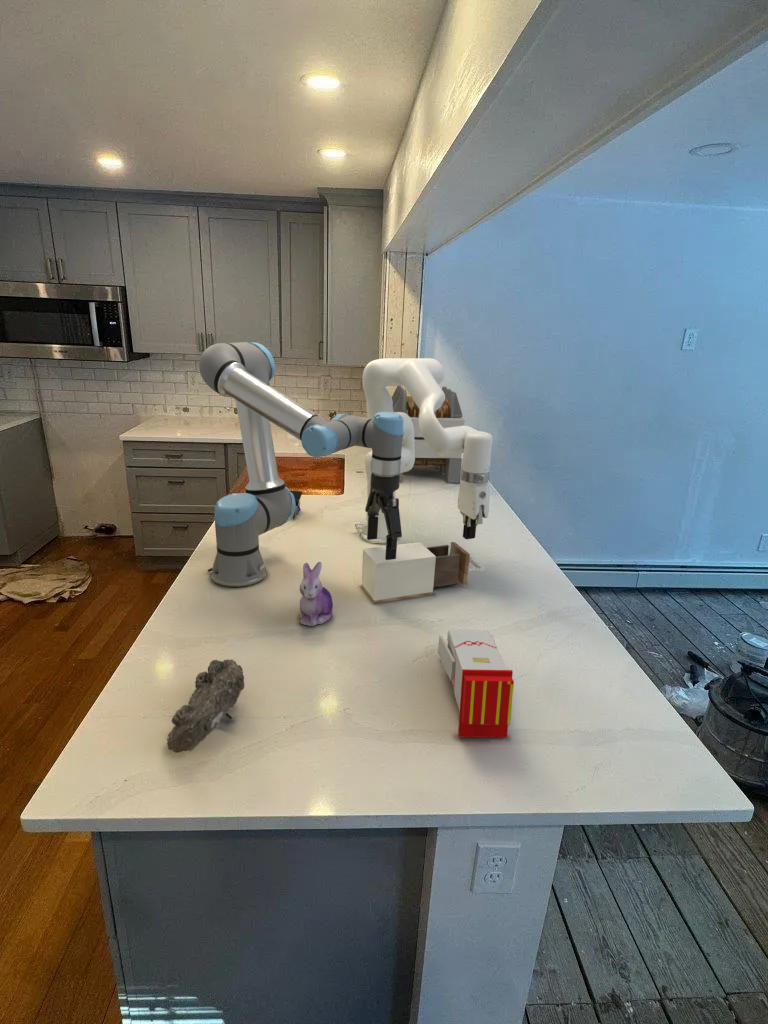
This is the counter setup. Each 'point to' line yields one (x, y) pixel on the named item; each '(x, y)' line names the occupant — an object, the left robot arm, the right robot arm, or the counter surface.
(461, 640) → the toy
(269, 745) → the counter surface
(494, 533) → the counter surface
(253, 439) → the left robot arm
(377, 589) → the cabinet
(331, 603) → the figurine
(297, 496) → the figurine character
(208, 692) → the fossil
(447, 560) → the drawer
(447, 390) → the transformer
